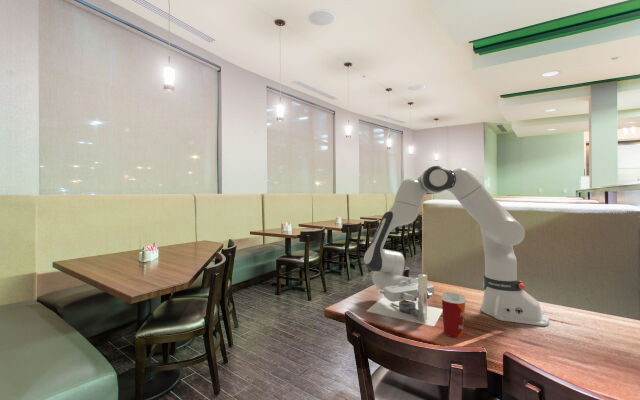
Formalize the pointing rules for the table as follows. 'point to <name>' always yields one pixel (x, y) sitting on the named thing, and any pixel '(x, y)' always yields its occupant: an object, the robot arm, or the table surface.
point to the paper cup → (453, 314)
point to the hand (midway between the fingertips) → (423, 297)
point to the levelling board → (392, 310)
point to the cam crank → (422, 301)
